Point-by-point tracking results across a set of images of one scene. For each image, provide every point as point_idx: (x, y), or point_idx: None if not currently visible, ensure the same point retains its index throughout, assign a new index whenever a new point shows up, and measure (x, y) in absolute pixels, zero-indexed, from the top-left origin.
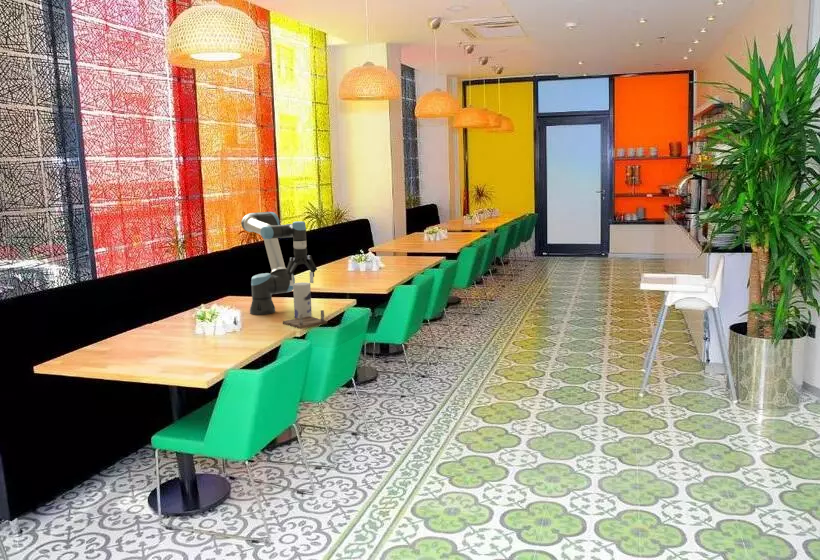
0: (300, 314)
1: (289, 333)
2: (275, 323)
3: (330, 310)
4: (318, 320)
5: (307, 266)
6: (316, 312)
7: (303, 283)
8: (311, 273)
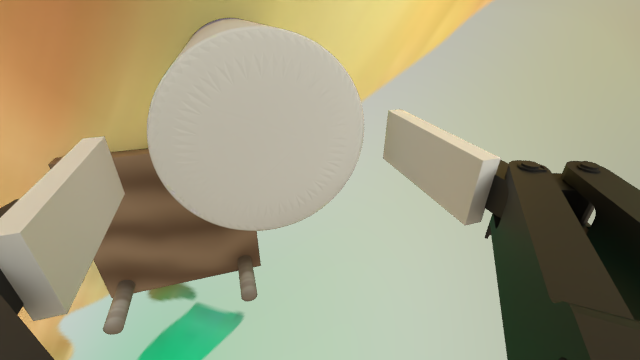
0: (109, 331)
1: (39, 339)
2: (3, 125)
3: (433, 22)
4: (235, 244)
5: (519, 266)
6: (358, 10)
7: (286, 155)
8: (454, 201)
